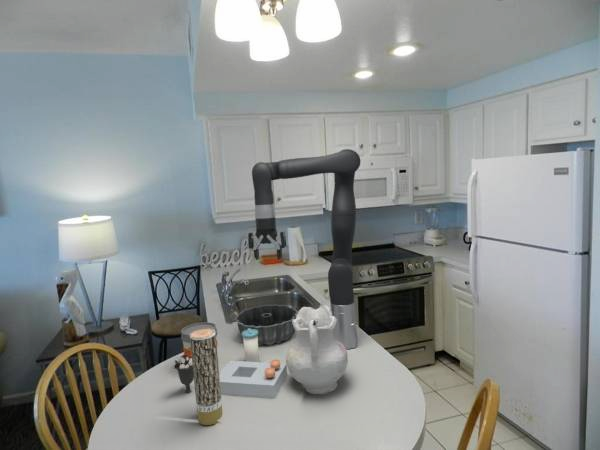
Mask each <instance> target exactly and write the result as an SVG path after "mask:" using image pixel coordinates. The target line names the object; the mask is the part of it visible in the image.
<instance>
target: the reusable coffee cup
mask: <svg viewBox="0 0 600 450" xmlns="http://www.w3.org/2000/svg"><path fill="white" fill-rule="evenodd" d="M200 329H213V330H215V334H216V337H217V336H218V329H217V326H216V324H215V323H213V322H209V321H208V322H207V321H206V322H205V321H204V322H203V321H202V322H196V323H191V324H189V325H186V326H185V327H183V328H181V330H180V331H181V332H180V333H181V334H180V335H181V337H180V338H181V339H180V340H181V341H182V344H183V345H182V349H183V350H182V351H183V354H184V353H186V352H187V351H188V352H187V355H189V350H190V355H192V353H191V349H189V348H191V343H190V334H191V333H192V332H194V331H196V330H200ZM216 345H217V346H218V340H217V338H216ZM188 349H189V350H188Z"/></svg>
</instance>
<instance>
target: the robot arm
mask: <svg viewBox="0 0 600 450" xmlns="http://www.w3.org/2000/svg"><path fill="white" fill-rule="evenodd" d="M360 166H361V158H360V155H359V153H358V152H356V151H355V150H353V149H349V148H347V149H346V148H345V149H342V150H339V151H338V152H334V153H331V154H326V155H322V156H314V157H313V156H311V157H309V156H308V157H299V158H289V159H282V160H278V161H272V162H270V161H269V162H261V161H259V162H257V163H255V164H254V165H253V167H252V169H251V177H252V184H253V191H254V218H255V229H256V230H255V232H253V231H251V232H249V233H248V234H247V235H248V236H247V237H248V238H247V239H248V249H250V250H253V258H254V259H255V260H257V261H258V260H260V249H259V248H260V246H261V245H265V244H267V245H268V244H269V245H270V244H272V245H273V246H274V247H275V249H276V258H277V260H281V259H282V258H283V249H285V248H286V247H287V239H286V231H285V230H282V231H277V222H276V221H277V220H276V219H277V218H276V209H275V204H274V203H275V202H274V192H273V187H272V186H273V183H272V181H276V180H288V179H297V178H304V177H309V176H314V175H320V174H333V175H334V176H333V179H334V181H333V182H334V189H333V197H332V204H331V205H332V206H331V216H330V217H331V218H330V220H331V221H330V226H331V227H330V229H331V237H332V238H331V239H332V257H331V263H330V267H329V269H328V273H327V281H328V295H329V300H330V303H329V304H330V309H331V311H332V315H333V316H334V317H335V318H336V319H337V322H336V325H335V327H334V331H333V337H334V338H335V339H336V340H337V341H339V342H341V343H342V344H343V345H344V347H345V348H346V350H350V349H356V348H357V343H358V334H357V319H356V311H355V309H356V308H355V295H354V278H353V277H354V268H353V243H354V237H355V231H356V223H357V222H356V221H357V206H356V199H355V198H356V197H355V191H354V187H355V184H354V183H355V176H356V175H355V174H356V171H358V170H359V168H360ZM277 237H278V238H280V241H279V240H278V239H277ZM255 238H257V241H256V243H255V241H254V239H255Z"/></svg>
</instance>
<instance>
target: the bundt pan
mask: <svg viewBox="0 0 600 450" xmlns="http://www.w3.org/2000/svg"><path fill="white" fill-rule="evenodd" d="M298 312H299V311H298V310H297V309H295V307H291V306H290V305H284V304H281V305H280V304H276V303H275V304H263V305H259V306H252V307H251V308H246V309H244V310H242V311H241V312H240V313H237V315H236V316H235V317H234V320H235V322H236V324H237V328H238V331H239V334H240V337H241V338H242V339H243V337H242V332H243V331H245V330H248V328H250V329H256V330H258V335H257V337H258V346H263V345H269V346H270V345H273V344H274V343H277V344H280V343H281V342H282V341H286V340H287V339H289V338H290V337H292V336H293V335H294V334H295V332H296V330H295V328H294V326H293V324H292V320H293V319H296V316H297V314H298Z"/></svg>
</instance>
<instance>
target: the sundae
mask: <svg viewBox="0 0 600 450" xmlns="http://www.w3.org/2000/svg"><path fill="white" fill-rule="evenodd" d="M189 349H191V348H189ZM189 349H188V350H189ZM187 352H188V351H187ZM187 352H186V353H184V352H183V355H182V356H180V357H179V358H178V361H177V360H174V362H175V364H174V367H173V368H174V369H175V370H176V371H177V373H178V378H179V382H180V383H181V384H182V385H183V386H185V392H184V394H191V392H192V390H191V386H190V384H192V383H193V382H194V374H193V364H192V355H190V350H189V355H187Z"/></svg>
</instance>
